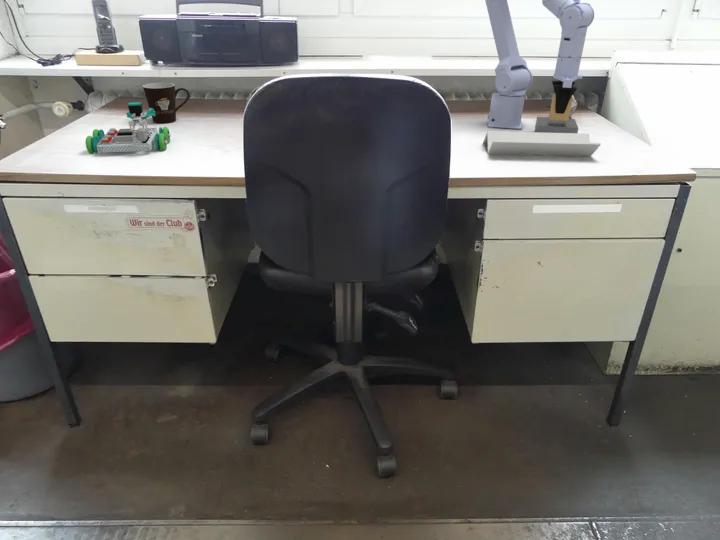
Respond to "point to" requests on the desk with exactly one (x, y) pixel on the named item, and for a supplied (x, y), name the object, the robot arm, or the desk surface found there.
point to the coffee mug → (163, 101)
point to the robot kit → (130, 135)
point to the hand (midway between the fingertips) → (559, 111)
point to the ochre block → (558, 116)
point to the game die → (572, 107)
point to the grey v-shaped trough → (539, 143)
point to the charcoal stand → (555, 125)
